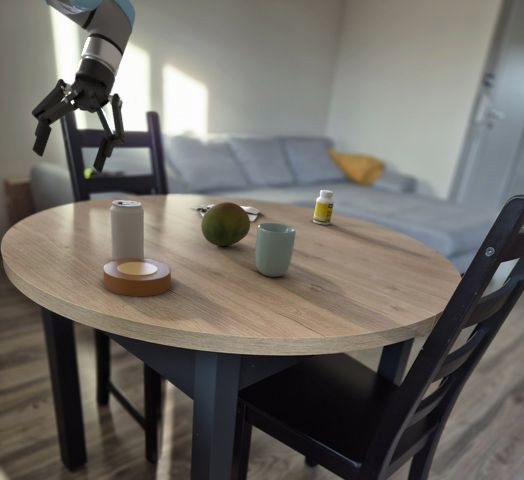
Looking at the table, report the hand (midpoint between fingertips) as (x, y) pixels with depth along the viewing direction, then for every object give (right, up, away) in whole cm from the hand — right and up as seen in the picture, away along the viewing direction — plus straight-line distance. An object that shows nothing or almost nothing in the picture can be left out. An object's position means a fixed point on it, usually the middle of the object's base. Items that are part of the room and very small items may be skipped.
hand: (67, 161), depth 101 cm
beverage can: (+13, -21, 0) cm, 25 cm away
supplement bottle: (+60, +1, +52) cm, 79 cm away
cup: (+43, -23, +2) cm, 49 cm away
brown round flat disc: (+18, -27, -11) cm, 34 cm away
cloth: (+30, +3, +49) cm, 57 cm away
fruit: (+32, -14, +18) cm, 39 cm away
